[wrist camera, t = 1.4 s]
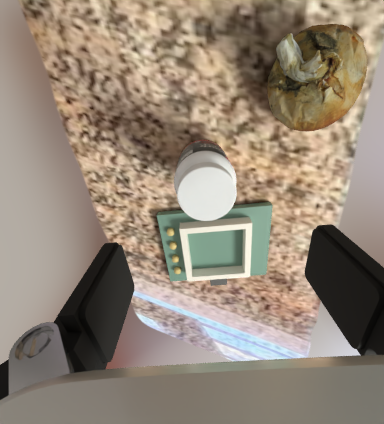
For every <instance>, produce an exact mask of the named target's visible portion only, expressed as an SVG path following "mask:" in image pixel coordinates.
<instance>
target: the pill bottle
mask: <svg viewBox="0 0 384 424" xmlns="http://www.w3.org/2000/svg"><path fill="white" fill-rule="evenodd" d="M174 187H175V191H176V194H177V198H178V202H179V205H180V207H181V208H182V210H183V211H184V212H185V213H186V214H187V215H188V216H190V217H192V218H194V219H196V220H201V221H212V220H216V219H218V218H221V217H222V216H224V215H225V214H227V213H228V212H229V211H230V209H231V208H232V207H233V205H234V203H235V200H236V174H235V171H234V168H233V166H232V164H231V163H230V161H229V160H228V158H227V156H226V155H225V153H224V151H223V150H222V149H221V147H220V146H219V145H217V144H216V143H214V142H212V141H209V140H197V141H194V142H192V143H190V144H189V145H187V146H186V147H185V148H184V150H183V151H182V153H181V154H180V157H179V161H178V164H177V168H176V172H175V176H174Z"/></svg>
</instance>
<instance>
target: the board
mask: <svg viewBox="0 0 384 424" xmlns="http://www.w3.org/2000/svg"><path fill="white" fill-rule="evenodd" d="M271 216H272V204H271V203H270V202H264V203H253V204H242V205H233V207H232V208H231V209H230V211H229V212H228V213H227V214H225V215H224V216H222V217H221V218H218V219H216V220H212V221H201V220H196V219H194V218H192V217H190V216H188V215H187V214H186V213H185V212H184V211H183V210H175V211H164V212H158V213H157V219H158V224H159V229H160V233H161V238H162V243H163V248H164V253H165V257H166V262H167V267H168V272H169V277H170V281H182V280H187V281H201V280H210V282H211V286H212V285H226V284H227V279H228V278H242V277H250V276H252V275H265V274H266V271H267V260H268V249H269V238H270V227H271Z"/></svg>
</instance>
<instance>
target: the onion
mask: <svg viewBox="0 0 384 424" xmlns="http://www.w3.org/2000/svg"><path fill="white" fill-rule="evenodd" d="M363 43H364V41H363V39H362V38H361V37H360V36H359V35H358V34H357V33H356V32H355V31H353V30H352V29H351V28H349V27H347V26H344V25H338V24H327V25H316V26H311V27H309V28H308V29H306V30H303V31H301V32H300V33H299V34H297V35H296V36H295V37H294V38H293V35H292V33H288V34H287V35H286V36H285V37H284V38H283V39H282V40H281V42H280V43H279V44H278V45H277V48H276V51H277V56H278V57H277V59H276V61H275V63H274V64H273V67H272V69H271V72H270V75H269V77H268V85H267V93H268V100H269V105H270V109H271V111H272V113H273V115H274V116H275V117H276V118H277V119H278V120H279V121H280V122H282V123H283V124H284V125H285V126H287V127H288V128H290V129H294V130H298V131H315V130H319V129H322V128H324V127H327V126H329V125H331V124H332V123H334V122H335V121H337V120H338V119H340V118H341V117H342V116H344V115H345V114H346V113H347V112H348V111H349V109H350V108H351V107H352V106H353V104H354V103H355V101H356V99H357V98H358V96H359V94H360V92H361V89H362V86H363V83H364V81H365V77H366V71H367V55H366V50H365V47H364V44H363Z"/></svg>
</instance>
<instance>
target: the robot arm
mask: <svg viewBox="0 0 384 424" xmlns="http://www.w3.org/2000/svg"><path fill="white" fill-rule="evenodd" d="M305 276H306V279H307V280H308V282H309V283H310V285H311V286H312V288H313V289H314V291H315V292H316V294H317V295H318V297H319V298H320V300H321V301H322V303H323V304H324V306H325V307H326V309H327V310H328V312H329V314H330V315H331V317H332V318H333V320H334V321H335V323H336V324H337V326H338V327H339V329H340V330H341V332H342V333H343V335H344V336H345V338H346V339H347V340H348V342H349V344H350V345H351V346H352V347H353V348H354V349H357V350H358V352H359V353H360V355H361V356H338V357H318V358H296V359H275V360H256V361H236V362H219V363H200V364H183V365H165V366H147V367H131V368H120V369H119V368H118V369H105V368H106V366H107V363H108V362H110V361H111V360H112V358H113V354H114V352H115V349H116V345H117V342H118V339H119V336H120V333H121V330H122V327H123V324H124V320H125V317H126V314H127V311H128V308H129V305H130V302H131V299H132V295H133V292H134V282H133V279H132V276H131V273H130V270H129V266H128V263H127V260H126V257H125V254H124V251H123V247H122V246H121V245H119V244H118V243H117V242H115V243H105V244H104V245H103V246H102V248H101V249H100V251H99V253H98V254H97V256H96V257H95V259H94V260H93V262H92V263H91V265H90V267H89V268H88V270H87V272H86V273H85V274H84V276H83V278H82V279H81V281H80V282H79V283H78V285H77V287H76V288H75V290H74V291H73V293H72V294H71V296H70V297H69V299H68V301H67V302H66V304H65V305H64V307H63V308H62V310H61V311H60V313H59V314H58V317H57V318H56V320H55V321H54V323H53V322H46V323H42V324H39V325H37V326H35V327H33V328H31V329H30V330H28V331H27V332H25V333H24V334H23V335H22V336H21V337H20V338H19V339H18V340H17V341H16V343H15V344H14V345H13V347H12V349H11V351H10V354H9V359H8V360H7V361H6V362H4V363H2V364H1V365H0V424H384V268H383V267H382V266H381V265H380V264H379V263H377V262H376V261H375V260H374V259H373V258H371V257H370V256H369V255H368V254H367V253H366V252H364V251H363V250H362V249H361V248H360V247H358V246H357V245H356V244H355V243H354V242H352V241H351V240H350V239H349V238H348V237H346V236H345V235H344V234H343V233H342V232H341V231H340V230H338V229H337V228H336V227H335V226H333V225H319V226H317V227H316V229H314V230H313V232H312V237H311V243H310V248H309V253H308V258H307V263H306V268H305Z"/></svg>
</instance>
